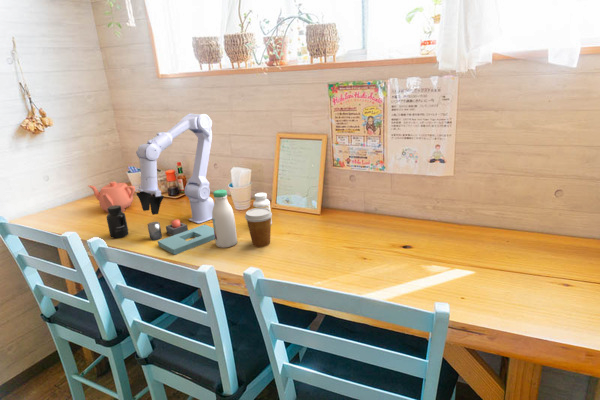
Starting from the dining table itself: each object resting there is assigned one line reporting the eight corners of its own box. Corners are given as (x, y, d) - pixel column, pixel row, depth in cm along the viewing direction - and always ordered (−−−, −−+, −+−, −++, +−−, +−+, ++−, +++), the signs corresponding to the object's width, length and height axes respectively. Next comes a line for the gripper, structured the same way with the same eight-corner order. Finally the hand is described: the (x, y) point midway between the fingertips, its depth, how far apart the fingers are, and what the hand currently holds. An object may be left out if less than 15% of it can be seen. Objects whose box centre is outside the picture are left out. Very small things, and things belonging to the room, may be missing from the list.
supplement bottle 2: (260, 221, 167) (257, 191, 163) (275, 222, 164) (272, 192, 160) (252, 227, 161) (248, 196, 157) (266, 228, 158) (263, 197, 154)
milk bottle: (241, 240, 149) (235, 188, 143) (229, 249, 143) (222, 195, 136) (224, 238, 152) (217, 187, 146) (211, 246, 146) (203, 193, 140)
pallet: (205, 229, 163) (204, 224, 162) (222, 236, 154) (221, 231, 154) (158, 246, 149) (157, 241, 149) (174, 255, 141) (173, 249, 141)
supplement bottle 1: (122, 239, 158) (116, 210, 154) (106, 238, 160) (100, 210, 156) (132, 232, 165) (126, 204, 161) (117, 231, 166) (111, 204, 162)
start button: (178, 226, 162) (177, 218, 161) (182, 228, 160) (181, 220, 159) (171, 229, 160) (169, 221, 159) (175, 231, 158) (173, 223, 157)
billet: (158, 234, 160) (156, 220, 158) (164, 237, 157) (161, 223, 155) (148, 238, 157) (145, 224, 155) (153, 241, 154) (150, 226, 152)
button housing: (180, 228, 165) (179, 221, 164) (188, 232, 161) (187, 225, 160) (166, 233, 161) (165, 226, 160) (174, 237, 157) (173, 229, 156)
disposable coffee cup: (263, 235, 152) (260, 205, 149) (280, 242, 146) (277, 210, 142) (242, 244, 146) (239, 212, 142) (259, 251, 140) (256, 218, 136)
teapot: (108, 217, 184) (101, 188, 180) (93, 210, 195) (86, 183, 191) (141, 207, 195) (136, 180, 191) (125, 201, 206) (120, 175, 202)
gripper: (130, 175, 153) (132, 210, 156) (147, 180, 143) (148, 217, 146) (148, 173, 158) (149, 207, 161) (166, 178, 148) (167, 214, 151)
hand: (150, 212), depth 154 cm, fingers open, 7 cm apart
